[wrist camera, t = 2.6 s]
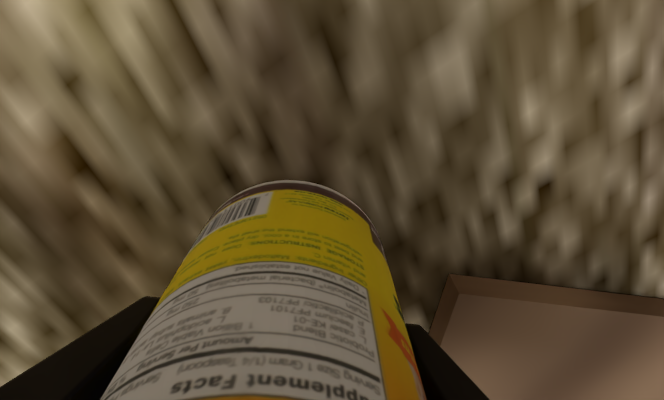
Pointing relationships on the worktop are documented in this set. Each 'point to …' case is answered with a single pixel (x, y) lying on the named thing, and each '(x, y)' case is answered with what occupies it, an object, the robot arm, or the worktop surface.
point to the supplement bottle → (277, 308)
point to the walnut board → (552, 340)
